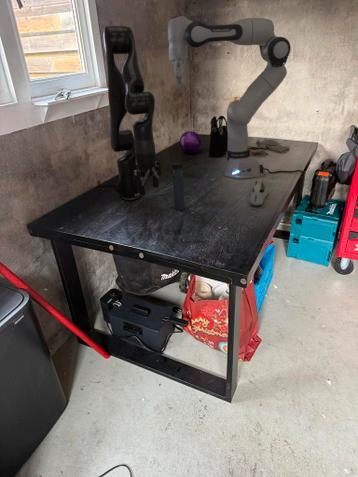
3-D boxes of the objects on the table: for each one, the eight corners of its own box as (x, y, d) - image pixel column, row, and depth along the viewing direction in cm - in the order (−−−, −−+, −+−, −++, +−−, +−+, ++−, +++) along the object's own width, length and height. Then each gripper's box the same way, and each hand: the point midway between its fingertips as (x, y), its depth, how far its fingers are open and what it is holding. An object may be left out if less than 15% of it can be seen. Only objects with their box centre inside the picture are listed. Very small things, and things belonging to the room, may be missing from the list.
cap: (170, 168, 143) (170, 164, 142) (175, 165, 147) (175, 161, 146) (179, 169, 142) (179, 165, 141) (184, 166, 145) (183, 162, 144)
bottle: (173, 209, 153) (170, 165, 142) (177, 206, 157) (175, 162, 146) (182, 211, 151) (179, 166, 141) (186, 207, 155) (184, 163, 144)
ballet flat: (269, 188, 169) (270, 173, 165) (265, 208, 149) (266, 191, 145) (252, 187, 171) (253, 172, 167) (246, 206, 151) (247, 190, 147)
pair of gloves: (254, 158, 214) (255, 150, 211) (233, 150, 234) (233, 142, 232) (291, 151, 223) (292, 143, 221) (268, 143, 244) (269, 136, 241)
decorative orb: (204, 151, 235) (204, 129, 228) (194, 156, 225) (193, 134, 217) (186, 149, 243) (186, 128, 235) (175, 154, 232) (174, 132, 224)
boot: (223, 139, 261) (223, 113, 251) (220, 148, 241) (220, 119, 231) (212, 139, 263) (212, 113, 253) (208, 147, 242) (208, 119, 232)
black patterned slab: (219, 158, 219) (220, 119, 206) (207, 156, 223) (207, 118, 211) (232, 150, 234) (233, 113, 221) (221, 149, 238) (221, 112, 226)
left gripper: (149, 144, 130) (152, 183, 138) (124, 154, 120) (130, 195, 128) (164, 146, 126) (167, 186, 134) (140, 156, 116) (145, 199, 124)
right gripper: (185, 55, 152) (186, 88, 159) (184, 55, 169) (185, 84, 176) (171, 56, 152) (173, 89, 159) (171, 55, 170) (173, 85, 176)
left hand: (149, 191), depth 131 cm, fingers open, 8 cm apart
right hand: (179, 86), depth 168 cm, fingers open, 8 cm apart
